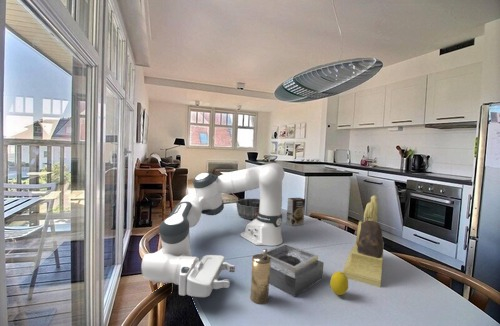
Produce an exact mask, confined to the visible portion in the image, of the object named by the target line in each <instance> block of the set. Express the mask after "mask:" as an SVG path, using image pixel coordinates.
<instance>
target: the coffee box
mask: <svg viewBox="0 0 500 326" xmlns="http://www.w3.org/2000/svg"><path fill="white" fill-rule="evenodd" d="M286 207H287V208H286V209H287V210H286V222H285V223H286V224H287V225H289V226H291V227H294V226H295V227H296V226H304V224H305V223H304V222H305V220H304V219H305V207H306V199H305V198H302V197H288V198H287V206H286Z"/></svg>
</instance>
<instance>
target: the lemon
mask: <svg viewBox="0 0 500 326" xmlns="http://www.w3.org/2000/svg"><path fill="white" fill-rule="evenodd" d="M342 272H343V271H336V272H333V274H332V275H331V278H330V284H329V285H330V288H331V291H332V292H333V293H334V294H336V295H337V296H338V297H339V296H341V295H342V296H343V295H344V294H346V293H347V291H348V289H349V281H348V280H349V279H348V278H347V277H346V275H345V274H343V273H342Z"/></svg>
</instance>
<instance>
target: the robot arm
mask: <svg viewBox="0 0 500 326" xmlns="http://www.w3.org/2000/svg"><path fill="white" fill-rule="evenodd" d="M284 178H285V170H284V168H283V167H282V165H280V164H279V163H276V162H271V163H267V164H262V165H257V166H252V167H248V168H244V169H239V170H234V171H229V172H226V173H223V174H221V175H217V174H213V173H211V172H202V173H199V174H198V175H197V174H196V176H195V177H194V178H193V180H192V182H193V188H194V189H195V193H196V194H195V193H188V194H187V195H185V196H184V197H182V199H181V200H180V201H179V202H178V203H177V204H176V205H175V206H174V208H173V209H172V210H171V212H170V214H169V215H168V216H167V217H165V219H163V221H161V223H160V224H159V225H158V232H159V236H160V242H161V248H160V249H159V250H157V251H155V252H150V253H146V254H144V255H143V257H142V260H141V263H140V271H141V273H140V274H141V276H142V278H143V279H145V280H147V281H149V282H154V283H158V284H160V283H161V284H170V283H171V284H174V285H175V286H176V285H177V286H178V295H179V296H186V295H187V296H190V297H196V298H207V297H209V296H210V295H211V293H212V292H213V290H218V289H221V288H222V289H223V288H227V289H228V288H230V284H231V281H230V279H225V278H224V279H222V280H218V279H219V277H220V275H221V273H222V271H229V272H228V273H235V272H236V269H237V266H236V265H234V264H231V263H229V262H227V261H225V259H226V258H225V256H224V255H218V254H206V255H204V256H202V257H200V258H199V257H198V256H192V248H191V238H190V237H191V236H190V229H191V228H194V227H196V225H197V224H198V223H199V221H200V220H201V217H202V214H203V215H206V216H216V215H218V214H220V213H221V212H222V211H223V210H224V208H225V204H224V200H223V195H222V194H226V195H228V194H236V193H242V192H247V191H252V190H256V189H259V199H260V206H259V212H257V213H256V214H255V215H257V217H256V219H254V220H253V219H252V220H250V222H249V223H248V222H247V224H246V226H245V229H244V231H242V232H241V233H240V237H242V238H244V239H245V240H247V241H249V242H250V243H252V244H253V245H256V246H268V247H269V246H270V247H271V246H272V247H273V246H280V245H282V244H283V242H284V240H283V237H282V220H283V219H282V218H283V214H282V205H283V203H282V202H283V180H284Z"/></svg>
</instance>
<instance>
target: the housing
mask: <svg viewBox="0 0 500 326" xmlns="http://www.w3.org/2000/svg"><path fill="white" fill-rule="evenodd" d="M260 254H263V251H262V252H260ZM267 256H269V257H270V258H271V260H270V278H269V285H271V286H273V287H274V288H277V289H278V290H280V291H282V292H284V293H286V294H288V295H289V296H292V297H293V298H295V297H297V296H298V295H300V294H301V293H304V292H305V291H306V290H307V289H309V288H310V287H312V286H314V285H315V284H317V283H318V282H320V280H322V279H323V274H324V261H321V260H319V255H318V254H315V253H312V252H310V251H307V250H304V249H302V248H299V247H296V246H293V245H290V244H288V243H281V244H279V245H276V246H275V247H272V248H270V249H267Z"/></svg>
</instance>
